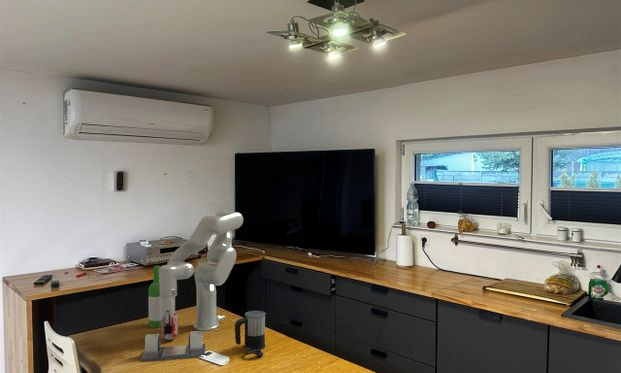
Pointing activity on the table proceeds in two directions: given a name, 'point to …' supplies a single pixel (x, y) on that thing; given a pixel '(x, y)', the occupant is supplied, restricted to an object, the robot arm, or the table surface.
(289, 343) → the table surface
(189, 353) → the rail
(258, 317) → the milk frother
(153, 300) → the wine bottle
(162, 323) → the soda can
